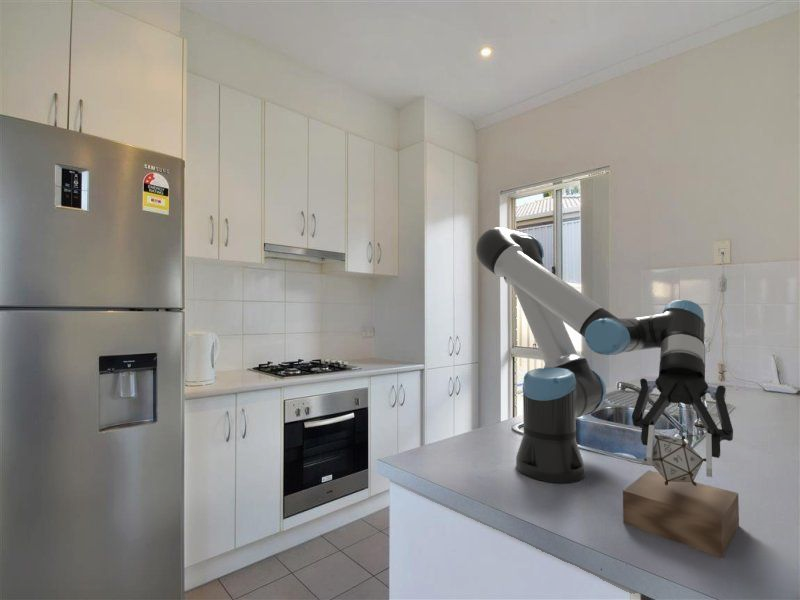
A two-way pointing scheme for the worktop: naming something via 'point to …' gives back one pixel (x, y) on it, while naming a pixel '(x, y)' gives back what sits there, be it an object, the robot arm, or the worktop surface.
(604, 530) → the worktop surface
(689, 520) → the walnut block
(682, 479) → the game die
